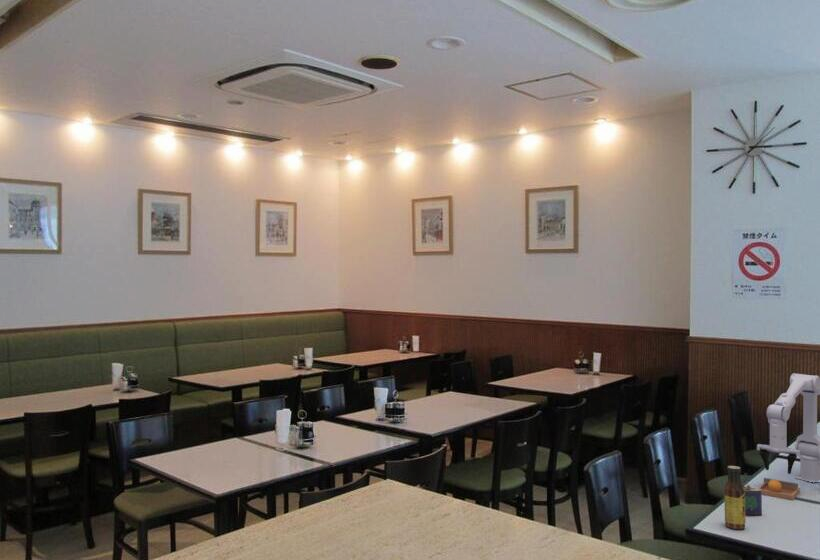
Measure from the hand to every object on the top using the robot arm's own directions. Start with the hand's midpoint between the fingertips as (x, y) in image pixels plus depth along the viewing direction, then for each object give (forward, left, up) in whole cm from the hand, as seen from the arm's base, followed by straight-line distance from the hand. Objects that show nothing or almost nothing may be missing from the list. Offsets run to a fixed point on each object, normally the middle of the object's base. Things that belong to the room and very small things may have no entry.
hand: (778, 471), depth 257 cm
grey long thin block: (-6, -3, -8) cm, 11 cm away
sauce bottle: (+45, +17, -9) cm, 49 cm away
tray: (0, 0, -8) cm, 8 cm away
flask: (+31, +11, -9) cm, 34 cm away
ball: (+1, -1, -6) cm, 6 cm away
